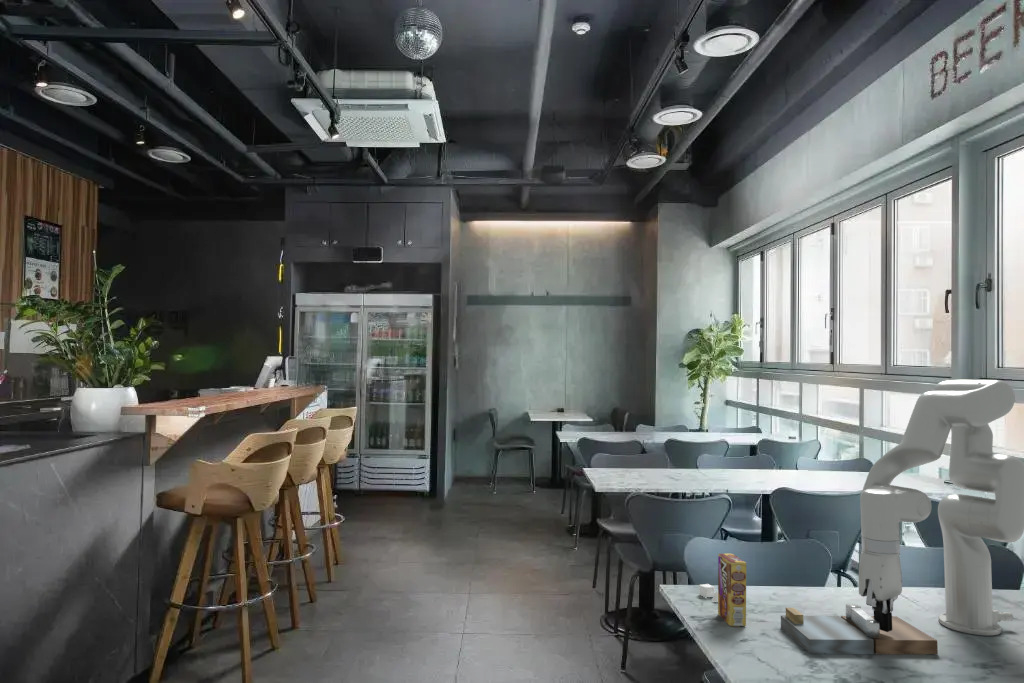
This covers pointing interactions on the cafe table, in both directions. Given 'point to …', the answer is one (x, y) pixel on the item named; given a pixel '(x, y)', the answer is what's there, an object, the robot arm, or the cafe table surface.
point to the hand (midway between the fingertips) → (883, 629)
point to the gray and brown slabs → (854, 636)
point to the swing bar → (863, 620)
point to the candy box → (732, 589)
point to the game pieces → (708, 591)
